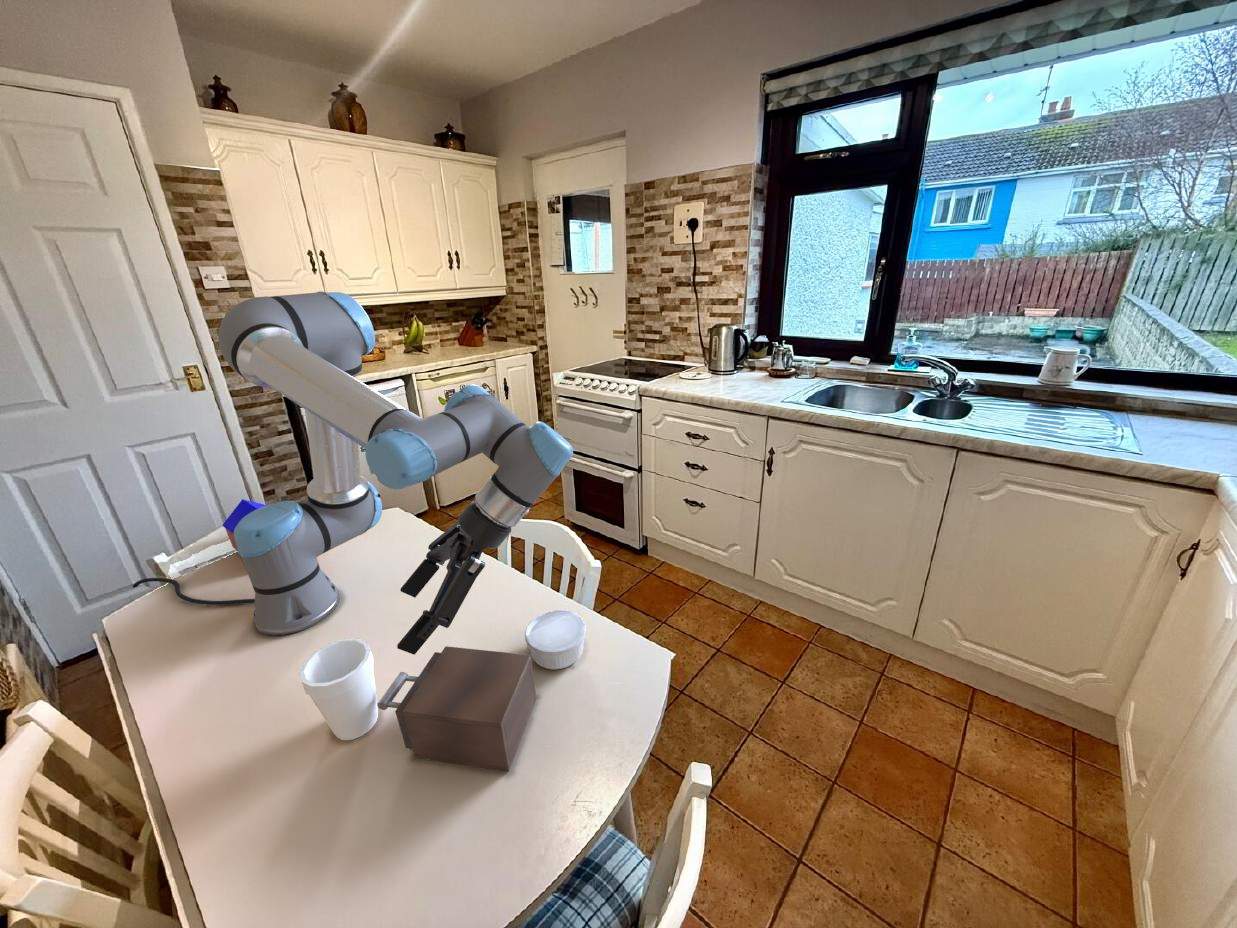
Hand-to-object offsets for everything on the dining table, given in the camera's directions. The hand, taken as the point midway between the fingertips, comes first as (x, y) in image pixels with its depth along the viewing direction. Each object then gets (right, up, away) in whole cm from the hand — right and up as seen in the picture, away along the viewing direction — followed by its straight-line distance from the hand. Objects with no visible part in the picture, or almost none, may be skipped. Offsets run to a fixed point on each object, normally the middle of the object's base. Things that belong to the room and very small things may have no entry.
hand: (406, 619), depth 74 cm
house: (-58, +2, +52) cm, 78 cm away
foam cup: (-10, -18, +4) cm, 20 cm away
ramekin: (+21, -11, +16) cm, 29 cm away
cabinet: (+11, -18, +2) cm, 21 cm away
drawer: (+6, -17, +3) cm, 18 cm away
